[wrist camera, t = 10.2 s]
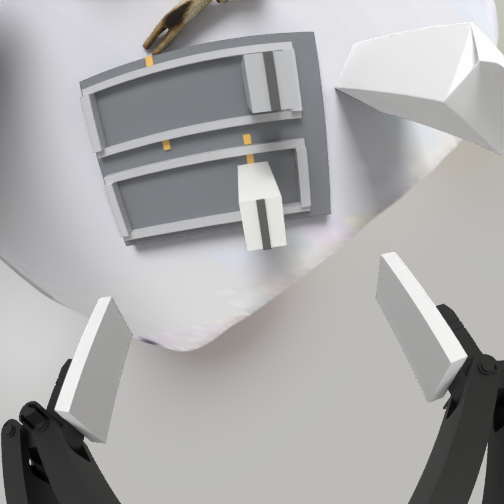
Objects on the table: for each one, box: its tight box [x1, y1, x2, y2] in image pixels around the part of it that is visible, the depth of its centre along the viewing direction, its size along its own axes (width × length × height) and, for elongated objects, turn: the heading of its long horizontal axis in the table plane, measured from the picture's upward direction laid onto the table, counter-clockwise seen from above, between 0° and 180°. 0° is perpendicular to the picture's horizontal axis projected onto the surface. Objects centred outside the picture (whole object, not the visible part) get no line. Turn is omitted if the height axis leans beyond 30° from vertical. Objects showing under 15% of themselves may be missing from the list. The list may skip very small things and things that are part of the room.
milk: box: [335, 22, 504, 155], centre depth 17 cm, size 6×6×22 cm
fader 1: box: [241, 50, 299, 113], centre depth 21 cm, size 3×4×10 cm
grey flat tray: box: [80, 32, 331, 246], centre depth 28 cm, size 24×20×3 cm
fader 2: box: [238, 161, 287, 251], centre depth 26 cm, size 3×4×10 cm
